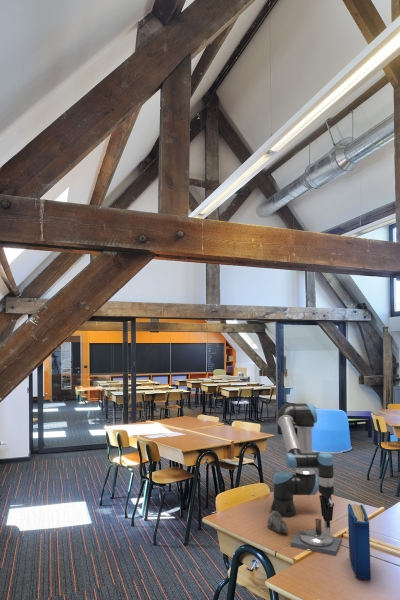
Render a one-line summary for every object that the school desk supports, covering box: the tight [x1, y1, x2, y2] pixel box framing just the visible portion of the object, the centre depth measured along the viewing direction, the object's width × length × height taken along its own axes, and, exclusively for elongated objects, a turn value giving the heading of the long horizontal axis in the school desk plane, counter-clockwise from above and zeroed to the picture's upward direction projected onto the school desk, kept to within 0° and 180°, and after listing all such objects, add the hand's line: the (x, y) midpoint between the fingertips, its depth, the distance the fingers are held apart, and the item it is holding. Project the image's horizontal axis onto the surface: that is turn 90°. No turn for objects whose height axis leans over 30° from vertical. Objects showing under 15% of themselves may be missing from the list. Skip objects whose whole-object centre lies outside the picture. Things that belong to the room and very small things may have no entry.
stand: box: [290, 530, 343, 557], centre depth 222 cm, size 17×22×2 cm
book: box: [347, 503, 372, 580], centre depth 198 cm, size 22×7×25 cm, turn 168°
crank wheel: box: [300, 518, 334, 547], centre depth 223 cm, size 16×16×8 cm
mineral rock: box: [267, 511, 289, 534], centre depth 239 cm, size 13×11×10 cm
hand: (327, 533), depth 223 cm, fingers closed
